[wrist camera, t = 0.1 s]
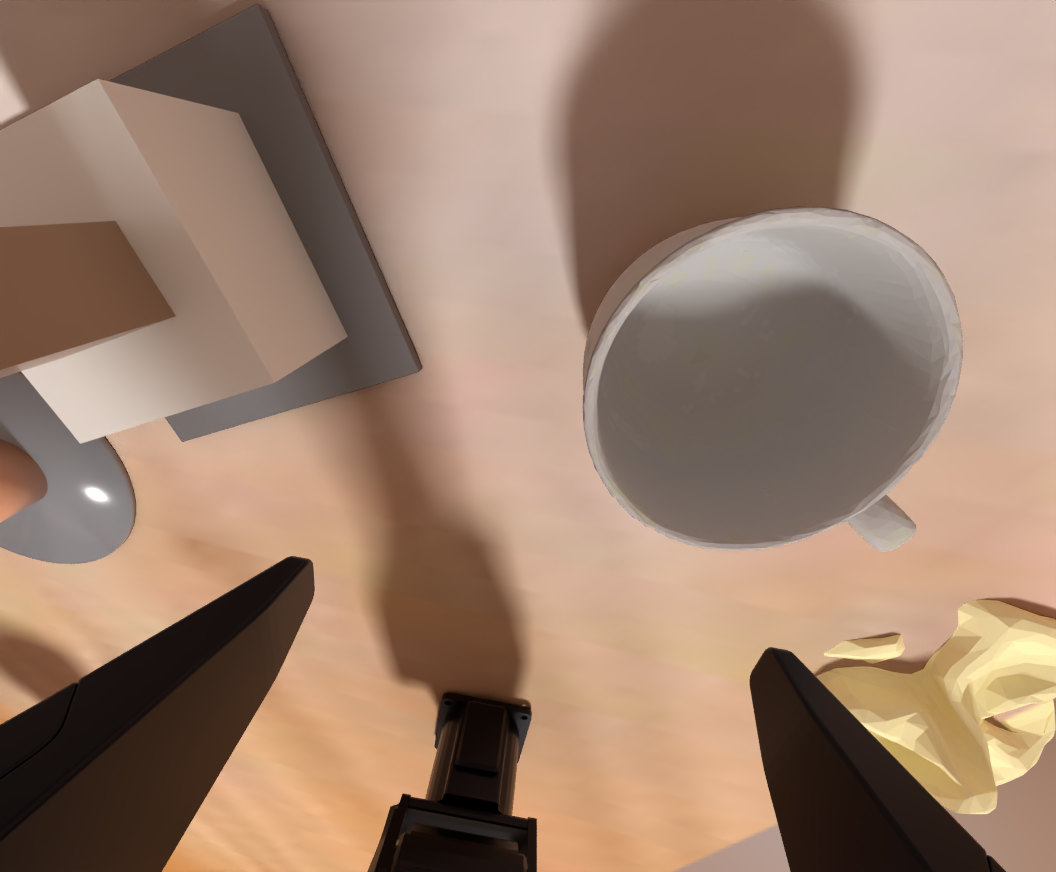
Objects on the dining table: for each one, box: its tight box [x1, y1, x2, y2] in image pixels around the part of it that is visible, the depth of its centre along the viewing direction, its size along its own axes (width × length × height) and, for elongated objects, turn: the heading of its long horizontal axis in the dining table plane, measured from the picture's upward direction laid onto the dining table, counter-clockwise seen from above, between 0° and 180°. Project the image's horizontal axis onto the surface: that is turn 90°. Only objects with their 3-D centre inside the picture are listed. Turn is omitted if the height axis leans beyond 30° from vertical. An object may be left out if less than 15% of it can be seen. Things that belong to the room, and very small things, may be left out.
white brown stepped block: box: [0, 79, 348, 444], centre depth 15 cm, size 9×9×12 cm
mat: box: [109, 4, 422, 442], centre depth 21 cm, size 14×14×1 cm
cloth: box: [816, 600, 1056, 814], centre depth 29 cm, size 22×19×6 cm
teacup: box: [583, 207, 963, 551], centre depth 18 cm, size 14×11×8 cm
